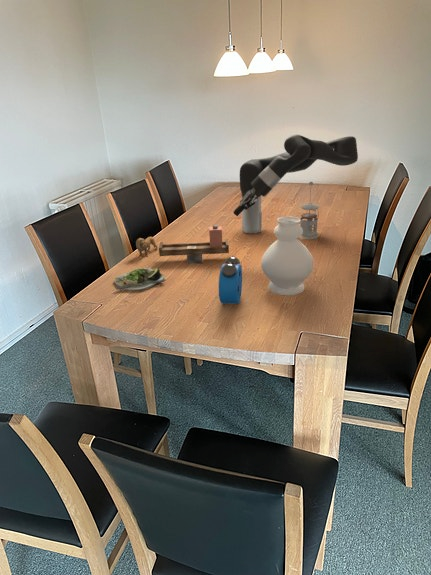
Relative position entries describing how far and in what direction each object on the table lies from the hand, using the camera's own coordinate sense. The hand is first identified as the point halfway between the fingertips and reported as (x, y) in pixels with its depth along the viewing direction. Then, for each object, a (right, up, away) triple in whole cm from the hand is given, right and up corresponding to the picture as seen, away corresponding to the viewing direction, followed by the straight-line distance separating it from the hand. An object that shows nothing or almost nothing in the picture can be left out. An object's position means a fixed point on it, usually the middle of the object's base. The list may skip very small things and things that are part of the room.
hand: (235, 214), depth 172 cm
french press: (+36, -5, +32) cm, 48 cm away
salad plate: (-36, -27, -7) cm, 45 cm away
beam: (-16, -18, +9) cm, 26 cm away
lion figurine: (-37, -15, +17) cm, 44 cm away
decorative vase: (+17, -29, -17) cm, 38 cm away
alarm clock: (-2, -34, -25) cm, 42 cm away
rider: (-7, -12, +6) cm, 16 cm away
